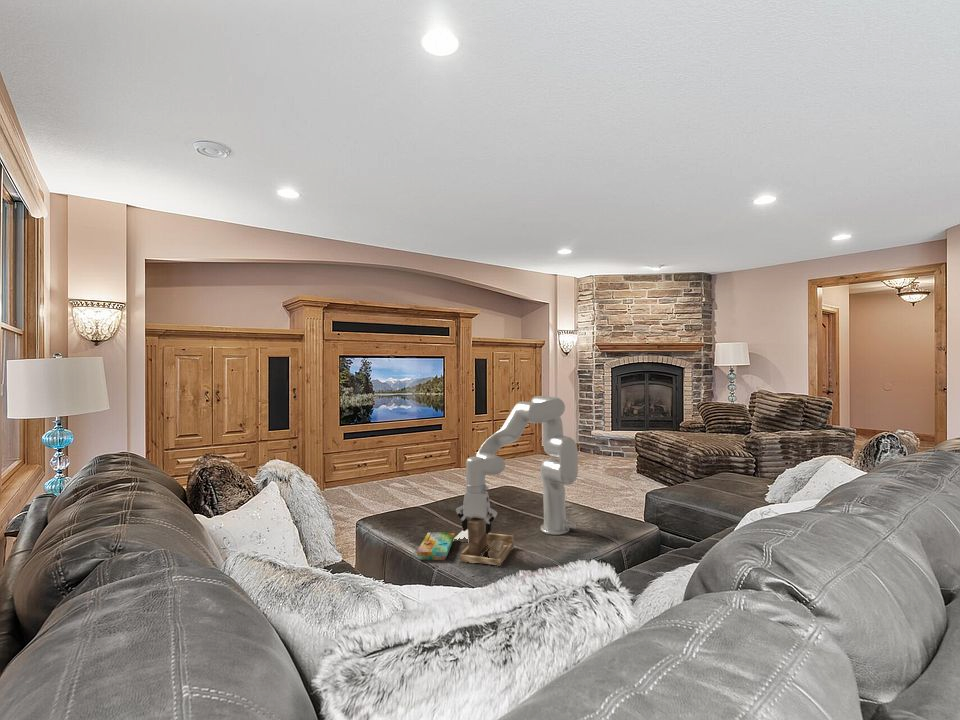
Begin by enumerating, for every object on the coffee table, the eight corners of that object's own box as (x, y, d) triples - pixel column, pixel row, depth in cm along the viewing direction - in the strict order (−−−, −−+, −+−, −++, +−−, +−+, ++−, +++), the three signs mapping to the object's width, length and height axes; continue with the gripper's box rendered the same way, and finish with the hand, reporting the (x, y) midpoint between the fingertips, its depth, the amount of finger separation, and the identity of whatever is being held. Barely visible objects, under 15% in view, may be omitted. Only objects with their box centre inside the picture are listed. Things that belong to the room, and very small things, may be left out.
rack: (513, 547, 208) (513, 535, 208) (499, 566, 191) (499, 553, 191) (476, 543, 214) (476, 531, 214) (459, 561, 197) (459, 548, 197)
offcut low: (506, 552, 204) (506, 545, 204) (500, 561, 197) (500, 553, 197) (495, 551, 206) (494, 544, 206) (488, 559, 199) (488, 551, 199)
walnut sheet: (487, 549, 208) (486, 514, 207) (478, 559, 199) (477, 523, 198) (477, 547, 209) (476, 514, 209) (468, 557, 200) (467, 522, 199)
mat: (484, 532, 226) (484, 531, 226) (474, 543, 214) (473, 542, 214) (463, 530, 229) (463, 529, 229) (451, 541, 217) (451, 540, 217)
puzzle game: (416, 549, 199) (427, 530, 218) (417, 561, 199) (428, 541, 219) (446, 550, 197) (454, 530, 217) (447, 562, 197) (455, 541, 217)
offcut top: (503, 545, 204) (503, 540, 204) (500, 552, 198) (500, 547, 198) (493, 545, 205) (493, 540, 205) (490, 551, 199) (489, 546, 199)
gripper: (499, 487, 204) (500, 530, 204) (459, 484, 209) (460, 526, 210) (493, 493, 196) (494, 537, 197) (452, 489, 202) (452, 532, 203)
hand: (476, 531), depth 203 cm, fingers open, 9 cm apart
